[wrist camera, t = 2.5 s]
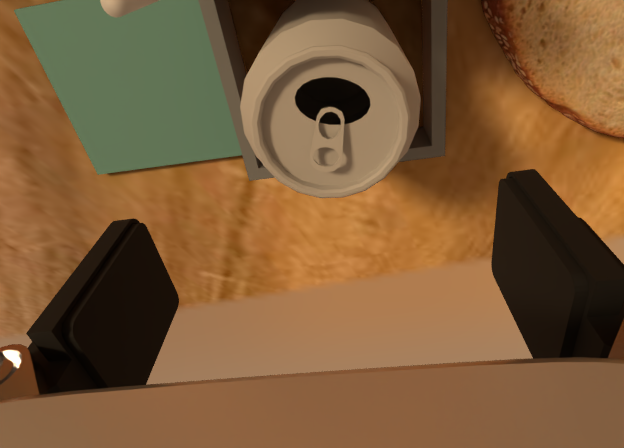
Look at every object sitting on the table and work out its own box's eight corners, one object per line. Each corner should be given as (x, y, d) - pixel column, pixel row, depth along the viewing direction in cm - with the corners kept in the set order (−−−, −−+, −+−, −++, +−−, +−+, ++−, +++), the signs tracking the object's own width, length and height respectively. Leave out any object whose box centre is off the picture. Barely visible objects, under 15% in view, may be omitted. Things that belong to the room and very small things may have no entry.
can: (404, -7, 24) (453, 40, 14) (379, 119, 28) (403, 222, 18) (273, -22, 24) (230, 14, 14) (268, 107, 28) (232, 204, 18)
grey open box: (436, -116, 21) (539, -160, 10) (435, 136, 29) (495, 259, 18) (196, -67, 23) (74, -61, 12) (256, 160, 30) (214, 285, 20)
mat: (194, -26, 24) (191, -25, 23) (244, 151, 30) (242, 155, 29) (19, 8, 25) (13, 10, 25) (101, 170, 31) (97, 174, 31)
